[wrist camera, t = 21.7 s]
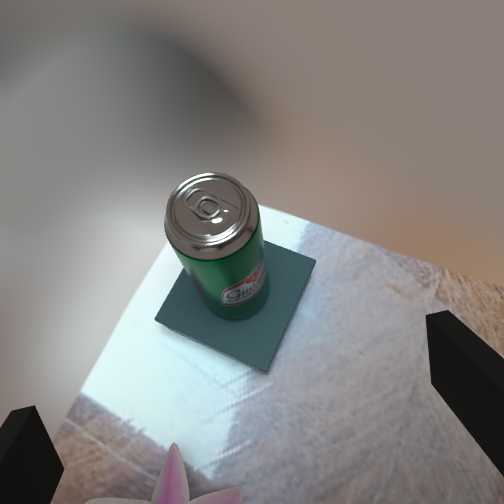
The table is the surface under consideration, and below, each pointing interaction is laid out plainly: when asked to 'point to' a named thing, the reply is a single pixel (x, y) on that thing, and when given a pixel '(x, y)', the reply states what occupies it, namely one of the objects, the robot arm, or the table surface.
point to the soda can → (220, 243)
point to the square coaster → (248, 329)
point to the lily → (177, 487)
